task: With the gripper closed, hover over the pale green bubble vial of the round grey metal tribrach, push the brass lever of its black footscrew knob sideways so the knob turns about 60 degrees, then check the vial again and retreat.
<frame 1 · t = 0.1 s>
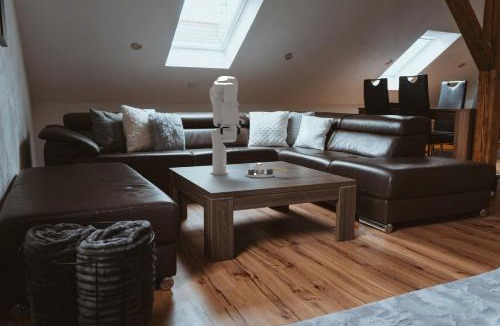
hand: (230, 134, 235), 31 cm above the table, tool pointing down, fingers open, 9 cm apart
footscrew knob: (276, 171, 273), point 4 cm above the table, hinge at 0.0°
tribrach: (259, 175, 277), on the table
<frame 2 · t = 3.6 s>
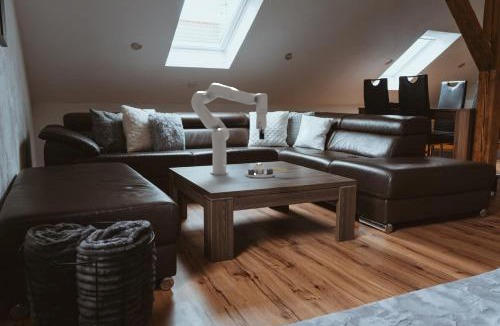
hand: (261, 139, 274), 25 cm above the table, tool pointing down, fingers closed
nothing on the table moved.
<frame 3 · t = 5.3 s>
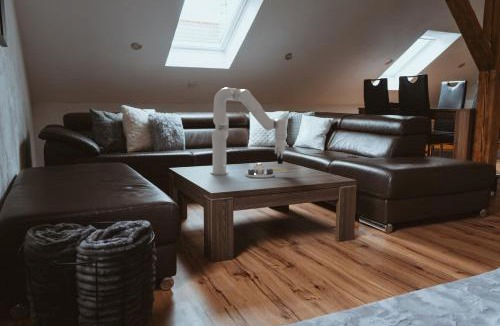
hand: (280, 163, 278), 8 cm above the table, tool pointing down, fingers closed
nothing on the table moved.
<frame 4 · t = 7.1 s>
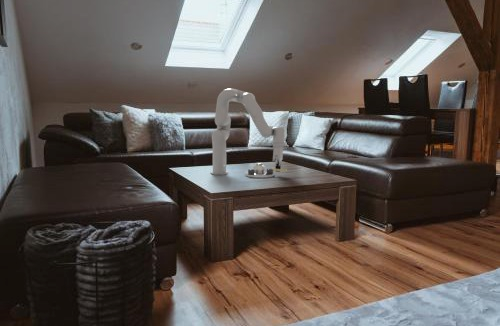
hand: (277, 171, 276), 3 cm above the table, tool pointing down, fingers closed
footscrew knob: (276, 171, 273), point 4 cm above the table, hinge at -1.2°, touching gripper
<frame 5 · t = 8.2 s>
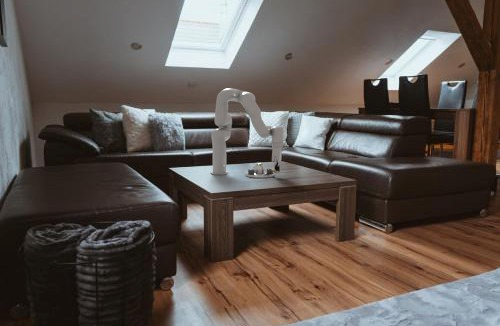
hand: (277, 172, 271), 4 cm above the table, tool pointing down, fingers closed
footscrew knob: (272, 172, 270), point 4 cm above the table, hinge at -49.5°, touching gripper
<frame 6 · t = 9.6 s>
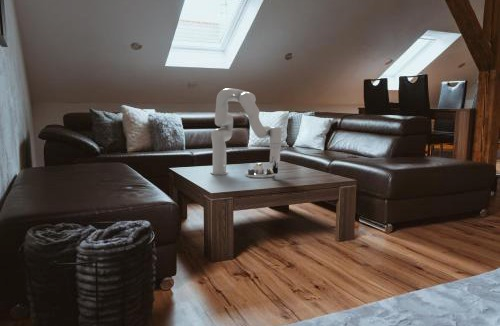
hand: (275, 173, 266), 3 cm above the table, tool pointing down, fingers closed
footscrew knob: (270, 172, 270), point 4 cm above the table, hinge at -66.9°, touching gripper
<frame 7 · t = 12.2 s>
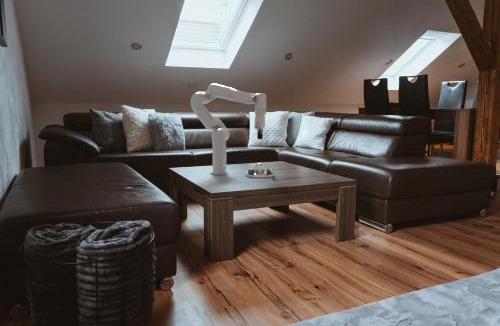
hand: (259, 139, 274), 25 cm above the table, tool pointing down, fingers closed
footscrew knob: (270, 172, 270), point 3 cm above the table, hinge at -67.6°
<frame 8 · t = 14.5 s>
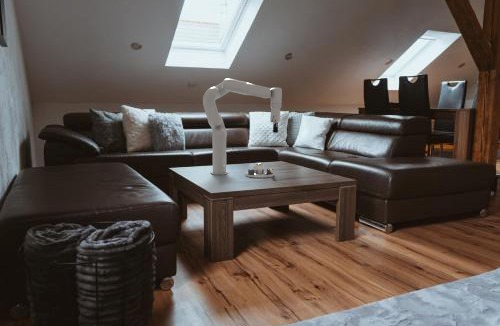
hand: (275, 132, 279), 29 cm above the table, tool pointing down, fingers closed
nothing on the table moved.
at the end: footscrew knob at -68° (first picture: +0°) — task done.
